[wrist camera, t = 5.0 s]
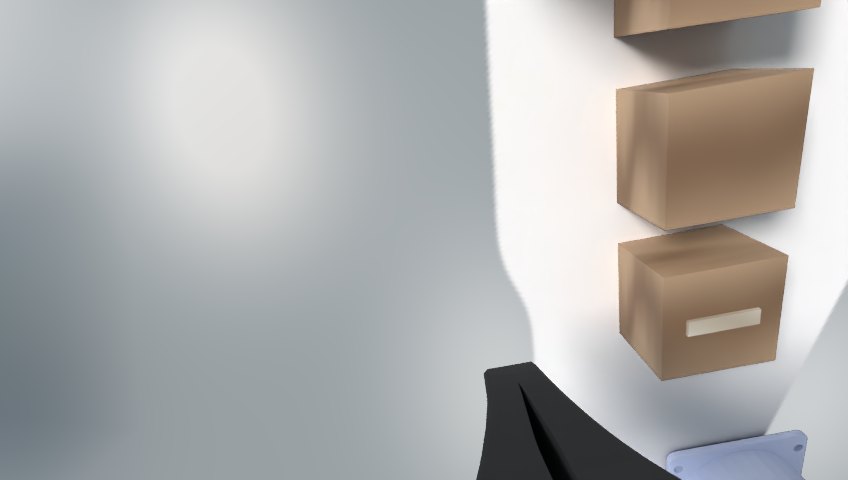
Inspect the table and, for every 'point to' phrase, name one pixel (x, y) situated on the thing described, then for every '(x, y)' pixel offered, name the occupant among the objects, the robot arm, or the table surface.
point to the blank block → (711, 145)
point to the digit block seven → (693, 12)
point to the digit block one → (700, 300)
